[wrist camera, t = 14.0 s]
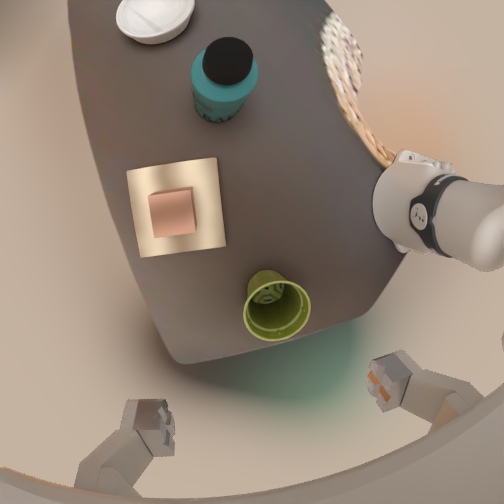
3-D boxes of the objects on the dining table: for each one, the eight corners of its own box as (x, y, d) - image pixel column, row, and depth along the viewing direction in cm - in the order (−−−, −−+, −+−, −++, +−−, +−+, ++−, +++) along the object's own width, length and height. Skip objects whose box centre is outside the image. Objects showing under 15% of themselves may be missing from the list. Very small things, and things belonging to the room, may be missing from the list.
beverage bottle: (211, 75, 35) (216, 9, 16) (249, 98, 37) (285, 48, 18) (185, 111, 36) (167, 66, 18) (224, 133, 38) (240, 107, 19)
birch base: (215, 158, 39) (216, 157, 35) (224, 238, 43) (226, 246, 39) (133, 170, 38) (126, 171, 34) (146, 249, 42) (140, 257, 38)
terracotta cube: (197, 223, 38) (195, 232, 33) (160, 228, 37) (154, 238, 32) (192, 186, 36) (190, 189, 31) (155, 191, 35) (147, 196, 31)
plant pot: (241, 317, 48) (249, 347, 39) (231, 265, 44) (237, 289, 36) (295, 305, 48) (312, 332, 40) (290, 254, 45) (308, 274, 37)
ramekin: (114, 48, 31) (104, 36, 26) (138, -6, 28) (132, -21, 23) (182, 54, 34) (180, 40, 29) (203, -1, 31) (204, -17, 26)
